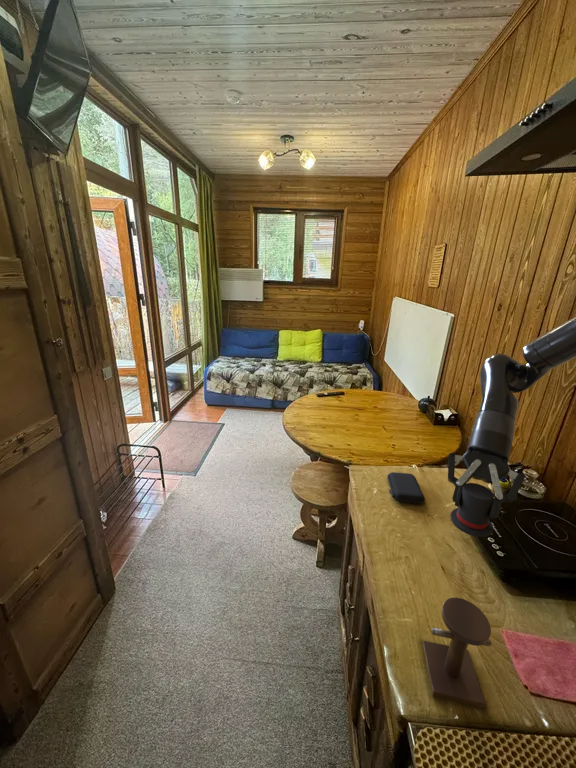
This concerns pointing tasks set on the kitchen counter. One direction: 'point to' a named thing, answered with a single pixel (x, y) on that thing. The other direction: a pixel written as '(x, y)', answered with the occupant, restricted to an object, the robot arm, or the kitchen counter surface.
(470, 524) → the hat
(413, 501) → the carrying case
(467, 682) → the coat stand
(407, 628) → the kitchen counter surface
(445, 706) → the kitchen counter surface
